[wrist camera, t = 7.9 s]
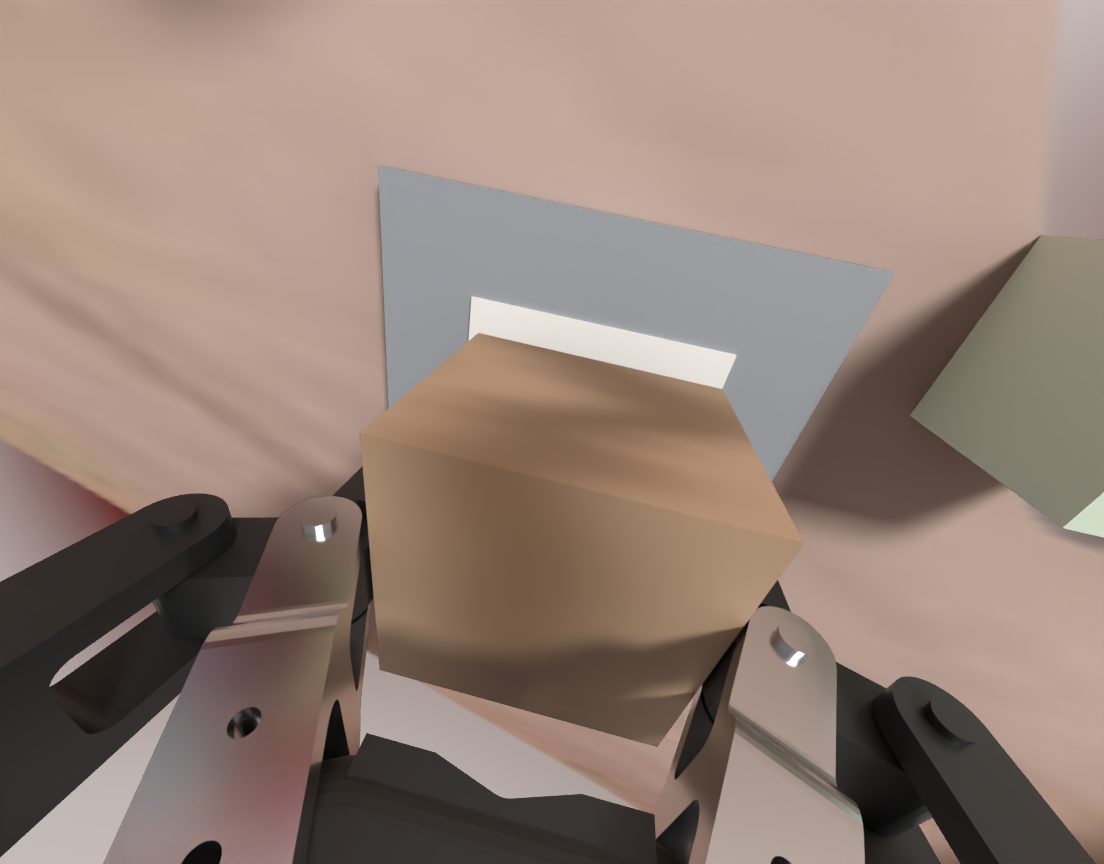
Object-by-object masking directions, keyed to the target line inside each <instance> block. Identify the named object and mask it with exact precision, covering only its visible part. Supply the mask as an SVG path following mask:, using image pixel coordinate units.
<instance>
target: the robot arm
mask: <svg viewBox="0 0 1104 864" xmlns="http://www.w3.org/2000/svg"><path fill="white" fill-rule="evenodd" d="M373 597H374V595H373V583H372V571H371V559H370V547H369V535H368V523H367V512H366V500H365V488H364V476H363V466H362V467H361V468H360V469H359V470H358V471H357V472H356V473H355V474H354V475H353V476H352V477H351V478H350V479H349V480H348V481H347V482H346V483H345V484H344V485H343V486H342V487H341V488H340V489H339V490H338V491H337V492H336V493H335V494H334V495H333V496H322V497H316V498H311V499H308V500H305V501H302V502H300V503H297V504H296V505H294V506H292V507H290V508H289V509H287V510H286V511H285V512H284V513H283V514H282V515H281V516H280V517H277V518H232V517H231V514H230V511H229V508H228V506H227V504H226V502H225V501H224V500H223V499H221V498H219V497H217V496H214V495H209V494H185V495H179V496H174V497H170V498H167V499H163V500H161V501H158V502H155V503H153V504H151V505H148V506H146V507H144V508H142V509H140V510H138V511H137V512H135V513H133V514H131V515H129V516H127V517H125V518H123V519H121V520H119V521H117V522H115V523H113V524H111V525H109V526H108V527H106V528H104V529H102V530H100V531H98V532H96V533H94V534H92V535H90V536H88V537H86V538H84V539H82V540H81V541H79V542H77V543H75V544H73V545H71V546H69V547H67V548H65V549H63V550H61V551H59V552H58V553H55V554H53V555H51V556H50V557H48V558H46V559H44V560H42V561H40V562H38V563H36V564H34V565H32V566H30V567H28V568H26V569H25V570H23V571H21V572H19V573H17V574H15V575H13V576H11V577H9V578H7V579H5V580H3V581H1V582H0V857H1V856H2V855H3V854H4V853H5V852H7V851H8V850H9V849H10V848H11V847H12V846H13V845H14V844H15V843H16V842H18V841H19V840H20V839H21V838H22V837H23V836H24V835H25V834H26V833H27V832H29V831H30V830H31V829H32V828H33V827H34V826H35V825H36V824H37V823H38V822H39V821H41V820H42V819H43V818H44V817H45V816H46V815H47V814H48V813H49V812H50V811H51V810H53V809H54V808H55V807H56V806H57V805H58V804H59V803H60V802H61V801H62V800H64V799H65V798H66V797H67V796H68V795H69V794H70V793H71V792H72V791H73V790H75V789H76V788H77V787H78V786H79V785H80V784H81V783H82V782H83V781H84V780H85V779H87V778H88V777H89V776H90V775H91V774H92V773H93V772H94V771H95V770H96V769H98V768H99V767H100V766H101V765H102V764H103V763H104V762H105V761H106V760H107V759H108V758H110V757H111V756H112V755H113V754H114V753H115V752H116V751H117V750H118V749H119V748H121V747H122V746H123V745H124V744H125V743H126V742H127V741H128V740H129V739H130V738H131V737H133V736H134V735H135V734H136V733H137V732H138V731H139V730H140V729H141V728H142V727H144V726H145V725H146V724H147V722H149V721H150V720H151V719H152V718H153V717H154V716H156V715H157V714H158V713H159V712H160V711H161V710H162V709H163V708H164V707H165V706H166V705H168V704H169V703H170V702H171V701H172V700H173V699H174V698H175V697H176V696H177V695H179V693H180V695H179V698H178V700H177V702H176V704H175V706H174V709H173V711H172V713H171V715H170V717H169V720H168V722H167V724H166V726H165V729H164V731H163V733H162V735H161V737H160V739H159V742H158V744H157V746H156V748H155V750H154V753H153V755H152V757H151V760H150V761H149V764H148V766H147V768H146V770H145V773H144V775H143V777H142V779H141V781H140V784H139V786H138V788H137V790H136V792H135V795H134V797H133V799H132V801H131V803H130V806H129V808H128V810H127V812H126V814H125V817H124V819H123V821H122V823H121V825H120V828H119V830H118V832H117V834H116V837H115V839H114V841H113V843H112V845H111V848H110V850H109V852H108V854H107V856H106V858H105V861H104V863H103V864H941V863H940V861H939V860H938V858H937V856H936V855H935V853H934V851H933V849H932V848H931V846H930V844H929V842H928V841H927V839H926V837H925V835H924V834H923V832H922V830H921V828H920V827H919V824H921V823H923V822H925V821H927V820H929V819H930V818H932V817H933V819H934V820H935V822H936V824H937V825H938V827H939V829H940V830H941V832H942V834H943V835H944V837H945V839H946V840H947V842H948V844H949V845H950V847H951V849H952V850H953V852H954V854H955V855H956V857H957V858H958V860H959V862H960V863H961V864H1096V863H1095V862H1094V861H1093V860H1092V858H1091V857H1090V856H1089V855H1088V853H1087V852H1086V851H1085V850H1084V849H1083V847H1082V846H1081V845H1080V844H1079V842H1078V841H1077V840H1076V839H1075V837H1074V836H1073V835H1072V834H1071V832H1070V831H1069V830H1068V829H1067V827H1066V826H1065V825H1064V824H1063V822H1062V821H1061V820H1060V819H1059V817H1058V816H1057V815H1056V814H1055V812H1054V811H1053V810H1052V809H1051V808H1050V806H1049V805H1048V804H1047V803H1046V801H1045V800H1044V799H1043V798H1042V796H1041V795H1040V794H1039V793H1038V791H1037V790H1036V789H1035V788H1034V786H1033V785H1032V784H1031V783H1030V781H1029V780H1028V779H1027V778H1026V776H1025V775H1024V774H1023V773H1022V771H1021V770H1020V769H1019V768H1018V767H1017V765H1016V764H1015V763H1014V762H1013V760H1012V759H1011V758H1010V757H1009V755H1008V754H1007V753H1006V752H1005V750H1004V749H1003V748H1002V747H1001V745H1000V744H999V743H998V742H997V740H996V739H995V738H994V737H993V735H992V734H991V733H990V732H989V730H988V729H987V728H986V727H985V726H984V725H983V723H982V722H981V721H980V720H979V719H978V718H977V717H976V716H975V715H974V714H973V713H972V712H971V711H970V710H969V709H968V708H967V707H965V706H964V705H963V704H962V703H961V702H960V701H958V700H957V699H956V698H954V697H953V696H952V695H950V694H949V693H947V692H946V691H944V690H943V689H941V688H939V687H937V686H936V685H934V684H932V683H930V682H927V681H925V680H922V679H919V678H915V677H901V678H899V679H898V680H896V681H895V682H894V683H892V684H891V685H890V686H889V687H888V688H887V689H886V688H884V687H882V686H880V685H879V684H877V683H875V682H873V681H871V680H869V679H867V678H865V677H863V676H862V675H860V674H858V673H856V672H854V671H852V670H850V669H848V668H846V667H844V666H843V665H841V664H839V663H837V662H836V661H835V658H834V655H833V653H832V651H831V649H830V647H829V646H828V644H827V643H826V641H825V640H824V639H823V638H822V636H821V635H820V634H819V633H818V632H817V631H816V630H815V629H814V628H813V627H812V626H811V625H810V624H808V623H807V622H806V621H804V620H803V619H802V618H800V617H798V616H797V615H795V614H793V613H791V611H790V609H789V606H788V604H787V601H786V599H785V596H784V594H783V591H782V589H781V587H780V584H779V582H778V580H777V581H776V583H775V584H774V585H773V587H772V588H771V590H770V591H769V592H768V594H767V595H766V597H765V598H764V599H763V601H762V602H761V603H760V605H759V606H758V608H757V609H756V610H755V612H754V613H753V615H752V616H751V617H750V619H749V620H748V622H747V623H746V624H745V626H744V627H743V628H742V630H741V631H740V633H739V634H738V635H737V637H736V638H735V640H734V641H733V642H732V644H731V645H730V647H729V648H728V649H727V651H726V652H725V653H724V655H723V656H722V658H721V659H720V660H719V662H718V663H717V665H716V666H715V667H714V669H713V670H712V671H711V673H710V674H709V676H708V677H707V678H706V680H705V681H704V683H703V684H702V685H701V687H700V688H699V690H698V691H697V692H696V694H695V696H694V699H693V702H692V705H691V708H690V711H689V714H688V717H687V720H686V723H685V726H684V729H683V732H682V735H681V738H680V741H679V744H678V747H677V750H676V753H675V756H674V759H673V762H672V765H671V768H670V771H669V774H668V777H667V780H666V783H665V785H664V788H663V790H662V792H661V794H660V797H659V799H658V800H657V802H656V804H655V806H654V808H653V810H652V812H651V814H650V813H647V812H643V811H640V810H636V809H633V808H629V807H626V806H622V805H619V804H615V803H611V802H608V801H604V800H600V799H597V798H594V797H590V796H587V795H583V794H576V795H561V796H545V797H530V798H515V799H507V798H502V797H499V796H498V795H496V794H494V793H493V792H491V791H490V790H488V789H487V788H486V787H484V786H482V785H481V784H480V783H478V782H477V781H475V780H474V779H472V778H471V777H470V776H468V775H467V774H465V773H464V772H463V771H461V770H460V769H458V768H457V767H455V766H454V765H453V764H451V763H450V762H448V761H447V760H445V759H444V758H442V757H441V756H440V755H438V754H437V753H435V752H431V751H428V750H424V749H421V748H417V747H413V746H410V745H407V744H403V743H399V742H396V741H392V740H389V739H385V738H382V737H378V736H375V735H371V734H368V733H367V734H366V736H365V738H364V740H363V742H362V744H361V746H360V707H361V694H362V684H363V674H364V667H365V658H366V649H367V640H368V631H369V622H370V613H371V600H372V599H373ZM151 602H152V603H153V604H154V606H155V608H156V610H157V611H156V612H155V613H153V614H152V615H151V616H149V617H148V618H147V619H145V620H144V621H142V622H141V623H140V624H138V625H137V626H135V627H134V628H133V629H131V630H130V631H128V632H127V633H126V634H124V635H123V636H122V637H120V638H119V639H117V640H116V641H115V642H113V643H112V644H111V645H109V646H108V647H106V648H105V649H104V650H102V651H101V652H99V653H98V654H97V655H95V656H94V657H92V658H91V659H90V660H88V661H87V662H85V663H84V664H83V665H81V666H80V667H79V668H77V669H76V670H74V671H73V672H72V673H70V674H69V675H67V676H66V677H65V678H63V679H62V680H61V681H59V682H57V683H56V684H54V685H53V686H51V687H49V686H50V683H51V680H52V679H53V677H54V676H55V674H56V673H57V672H58V671H59V669H60V668H61V667H62V666H63V665H64V664H65V663H66V662H68V661H69V660H70V659H71V658H72V657H74V656H75V655H76V654H78V653H79V652H81V651H82V650H84V649H85V648H87V647H88V646H89V645H91V644H92V643H94V642H95V641H96V640H98V639H99V638H101V637H102V636H104V635H105V634H107V633H108V632H109V631H111V630H112V629H114V628H115V627H117V626H118V625H119V624H121V623H122V622H124V621H125V620H126V619H128V618H130V617H131V616H132V615H134V614H135V613H137V612H138V611H140V610H141V609H142V608H144V607H145V606H147V605H148V604H149V603H151ZM359 746H360V748H359Z"/></svg>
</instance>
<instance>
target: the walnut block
mask: <svg viewBox="0 0 1104 864" xmlns="http://www.w3.org/2000/svg"><path fill="white" fill-rule="evenodd" d="M360 440H361V452H362V464H363V476H364V488H365V500H366V512H367V523H368V535H369V547H370V559H371V571H372V583H373V595H374V607H375V619H376V631H377V642H378V654H379V665H380V670H383V671H386V672H390V673H393V674H397V675H400V676H404V677H407V678H411V679H415V680H418V681H422V682H425V683H429V684H433V685H436V686H440V687H443V688H447V689H451V690H454V691H458V692H461V693H465V694H469V695H472V696H476V697H479V698H483V699H487V700H490V701H494V702H497V703H501V704H505V705H508V706H512V707H515V708H519V709H523V710H526V711H530V712H533V713H537V714H541V715H544V716H548V717H551V718H555V719H559V720H562V721H566V722H569V723H573V724H577V725H580V726H584V727H587V728H591V729H595V730H598V731H602V732H605V733H609V734H613V735H616V736H620V737H623V738H627V739H631V740H634V741H638V742H641V743H645V744H649V745H652V746H656V747H657V746H658V745H659V744H660V742H661V741H662V739H663V738H664V737H665V735H666V734H667V733H668V731H669V730H670V728H671V727H672V726H673V724H674V723H675V721H676V720H677V719H678V717H679V716H680V714H681V713H682V712H683V710H684V709H685V708H686V706H687V705H688V703H689V702H690V701H691V699H692V698H693V696H694V695H695V694H696V692H697V691H698V690H699V688H700V687H701V685H702V684H703V683H704V681H705V680H706V678H707V677H708V676H709V674H710V673H711V671H712V670H713V669H714V667H715V666H716V665H717V663H718V662H719V660H720V659H721V658H722V656H723V655H724V653H725V652H726V651H727V649H728V648H729V647H730V645H731V644H732V642H733V641H734V640H735V638H736V637H737V635H738V634H739V633H740V631H741V630H742V628H743V627H744V626H745V624H746V623H747V622H748V620H749V619H750V617H751V616H752V615H753V613H754V612H755V610H756V609H757V608H758V606H759V605H760V603H761V602H762V601H763V599H764V598H765V597H766V595H767V594H768V592H769V591H770V590H771V588H772V587H773V585H774V584H775V583H776V581H777V580H778V579H779V577H780V576H781V574H782V573H783V572H784V570H785V569H786V567H787V566H788V565H789V563H790V562H791V560H792V559H793V558H794V556H795V555H796V554H797V552H798V551H799V549H800V548H801V547H802V545H803V544H804V542H803V540H802V538H801V536H800V534H799V532H798V531H797V529H796V527H795V525H794V523H793V521H792V519H791V517H790V515H789V514H788V512H787V510H786V508H785V506H784V504H783V502H782V500H781V499H780V497H779V495H778V493H777V491H776V489H775V487H774V485H773V484H772V482H771V480H770V478H769V476H768V474H767V472H766V470H765V469H764V467H763V465H762V463H761V461H760V459H759V457H758V455H757V453H756V452H755V450H754V448H753V446H752V444H751V442H750V440H749V438H748V437H747V435H746V433H745V431H744V429H743V427H742V425H741V423H740V422H739V420H738V418H737V416H736V414H735V412H734V410H733V408H732V406H731V405H730V403H729V401H728V399H727V397H726V395H725V393H724V391H723V390H722V389H719V388H715V387H711V386H706V385H702V384H698V383H693V382H689V381H685V380H680V379H676V378H672V377H668V376H663V375H659V374H655V373H650V372H646V371H642V370H637V369H633V368H629V367H624V366H620V365H616V364H611V363H607V362H603V361H598V360H594V359H590V358H585V357H581V356H577V355H572V354H568V353H564V352H559V351H555V350H551V349H546V348H542V347H538V346H533V345H529V344H525V343H520V342H516V341H512V340H507V339H503V338H499V337H494V336H490V335H486V334H481V333H478V334H476V335H475V336H474V337H473V338H472V339H470V340H469V341H468V342H467V343H466V344H465V345H463V346H462V347H461V348H460V349H459V350H457V351H456V352H455V353H454V354H453V355H452V356H450V357H449V358H448V359H447V360H446V361H444V362H443V363H442V364H441V365H440V366H439V367H437V368H436V369H435V370H434V371H433V372H431V373H430V374H429V375H428V376H427V377H426V378H424V379H423V380H422V381H421V382H420V383H418V384H417V385H416V386H415V387H414V388H412V389H411V390H410V391H409V392H408V393H407V394H405V395H404V396H403V397H402V398H401V399H399V400H398V401H397V402H396V403H395V404H394V405H392V406H391V407H390V408H389V409H388V410H386V411H385V412H384V413H383V414H382V415H381V416H379V417H378V418H377V419H376V420H375V421H373V422H372V423H371V424H370V425H369V426H368V427H366V428H365V429H364V430H363V431H362V432H360Z"/></svg>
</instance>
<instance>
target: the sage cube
mask: <svg viewBox="0 0 1104 864" xmlns="http://www.w3.org/2000/svg"><path fill="white" fill-rule="evenodd" d="M910 416H911V417H912V418H914V419H915V420H916V421H918V422H919V423H920V424H922V425H923V426H924V427H926V428H927V429H929V430H930V431H931V432H933V433H934V434H935V435H937V436H938V437H939V438H941V439H942V440H943V441H945V442H946V443H948V444H949V445H950V446H952V447H953V448H954V449H956V450H957V451H958V452H960V453H961V454H963V455H964V456H965V457H967V458H968V459H969V460H971V461H972V462H973V463H975V464H976V465H978V466H979V467H980V468H982V469H983V470H984V471H986V472H987V473H988V474H990V475H991V476H992V477H994V478H995V479H997V480H998V481H999V482H1001V483H1002V484H1003V485H1005V486H1006V487H1007V488H1009V489H1010V490H1012V491H1013V492H1014V493H1016V494H1017V495H1018V496H1020V497H1021V498H1022V499H1024V500H1025V501H1026V502H1028V503H1029V504H1031V505H1032V506H1033V507H1035V508H1036V509H1037V510H1039V511H1040V512H1041V513H1043V514H1044V515H1046V516H1047V517H1048V518H1050V519H1051V520H1052V521H1054V522H1055V523H1056V524H1058V525H1059V526H1060V527H1062V528H1065V529H1069V530H1074V531H1078V532H1082V533H1087V534H1091V535H1096V536H1100V537H1104V239H1089V238H1074V237H1061V236H1046V235H1040V237H1039V239H1038V240H1037V242H1036V243H1035V244H1034V246H1033V247H1032V248H1031V250H1030V251H1029V253H1028V254H1027V255H1026V257H1025V258H1024V259H1023V261H1022V262H1021V264H1020V265H1019V266H1018V268H1017V269H1016V270H1015V272H1014V273H1013V275H1012V276H1011V277H1010V279H1009V280H1008V281H1007V283H1006V284H1005V286H1004V287H1003V288H1002V290H1001V291H1000V292H999V294H998V295H997V297H996V298H995V299H994V301H993V302H992V303H991V305H990V306H989V308H988V309H987V310H986V312H985V313H984V314H983V316H982V317H981V319H980V320H979V321H978V323H977V324H976V325H975V327H974V328H973V329H972V331H971V332H970V334H969V335H968V336H967V338H966V339H965V340H964V342H963V343H962V345H961V346H960V347H959V349H958V350H957V351H956V353H955V354H954V356H953V357H952V358H951V360H950V361H949V362H948V364H947V365H946V367H945V368H944V369H943V371H942V372H941V373H940V375H939V376H938V378H937V379H936V380H935V382H934V383H933V384H932V386H931V387H930V389H929V390H928V391H927V393H926V394H925V395H924V397H923V398H922V400H921V401H920V402H919V404H918V405H917V406H916V408H915V409H914V411H913V412H912V413H911V415H910Z"/></svg>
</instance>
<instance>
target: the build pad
mask: <svg viewBox="0 0 1104 864" xmlns="http://www.w3.org/2000/svg"><path fill="white" fill-rule="evenodd" d="M378 175H379V198H380V222H381V245H382V269H383V292H384V315H385V339H386V362H387V386H388V409H389V408H390V407H391V406H392V405H394V404H395V403H396V402H397V401H398V400H399V399H401V398H402V397H403V396H404V395H405V394H407V393H408V392H409V391H410V390H411V389H412V388H414V387H415V386H416V385H417V384H418V383H420V382H421V381H422V380H423V379H424V378H426V377H427V376H428V375H429V374H430V373H431V372H433V371H434V370H435V369H436V368H437V367H439V366H440V365H441V364H442V363H443V362H444V361H446V360H447V359H448V358H449V357H450V356H452V355H453V354H454V353H455V352H456V351H457V350H459V349H460V348H461V347H462V346H463V345H465V344H466V343H467V342H468V341H469V340H470V339H472V338H473V337H474V336H475V335H476V334H478V333H481V334H486V335H490V336H494V337H499V338H503V339H507V340H512V341H516V342H520V343H525V344H529V345H533V346H538V347H542V348H546V349H551V350H555V351H559V352H564V353H568V354H572V355H577V356H581V357H585V358H590V359H594V360H598V361H603V362H607V363H611V364H616V365H620V366H624V367H629V368H633V369H637V370H642V371H646V372H650V373H655V374H659V375H663V376H668V377H672V378H676V379H680V380H685V381H689V382H693V383H698V384H702V385H706V386H711V387H715V388H719V389H722V390H723V391H724V393H725V395H726V397H727V399H728V401H729V403H730V405H731V406H732V408H733V410H734V412H735V414H736V416H737V418H738V420H739V422H740V423H741V425H742V427H743V429H744V431H745V433H746V435H747V437H748V438H749V440H750V442H751V444H752V446H753V448H754V450H755V452H756V453H757V455H758V457H759V459H760V461H761V463H762V465H763V467H764V469H765V470H766V472H767V474H768V476H769V478H770V480H771V482H772V481H773V479H774V477H775V476H776V474H777V472H778V471H779V469H780V467H781V465H782V464H783V462H784V460H785V459H786V457H787V455H788V454H789V452H790V450H791V448H792V447H793V445H794V443H795V442H796V440H797V438H798V437H799V435H800V433H801V431H802V430H803V428H804V426H805V425H806V423H807V421H808V420H809V418H810V416H811V414H812V413H813V411H814V409H815V408H816V406H817V404H818V403H819V401H820V399H821V397H822V396H823V394H824V392H825V391H826V389H827V387H828V386H829V384H830V382H831V380H832V379H833V377H834V375H835V374H836V372H837V370H838V369H839V367H840V365H841V363H842V362H843V360H844V358H845V357H846V355H847V353H848V352H849V350H850V348H851V346H852V345H853V343H854V341H855V340H856V338H857V336H858V335H859V333H860V331H861V329H862V328H863V326H864V324H865V323H866V321H867V319H868V318H869V316H870V314H871V312H872V311H873V309H874V307H875V306H876V304H877V302H878V301H879V299H880V297H881V295H882V294H883V292H884V290H885V289H886V287H887V285H888V284H889V282H890V280H891V278H892V277H893V275H894V273H893V272H889V271H885V270H881V269H876V268H871V267H867V266H862V265H857V264H852V263H847V262H842V261H838V260H833V259H828V258H823V257H818V256H814V255H809V254H804V253H799V252H794V251H789V250H785V249H780V248H775V247H770V246H765V245H761V244H756V243H751V242H746V241H741V240H736V239H732V238H727V237H722V236H717V235H712V234H707V233H703V232H698V231H693V230H688V229H683V228H679V227H674V226H669V225H664V224H659V223H654V222H650V221H645V220H640V219H635V218H630V217H626V216H621V215H616V214H611V213H606V212H601V211H597V210H592V209H587V208H582V207H577V206H572V205H568V204H563V203H558V202H553V201H548V200H544V199H539V198H534V197H529V196H524V195H519V194H515V193H510V192H505V191H500V190H495V189H490V188H486V187H481V186H476V185H471V184H466V183H462V182H457V181H452V180H447V179H442V178H437V177H433V176H428V175H423V174H418V173H413V172H409V171H404V170H399V169H394V168H389V167H383V166H378Z"/></svg>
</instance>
